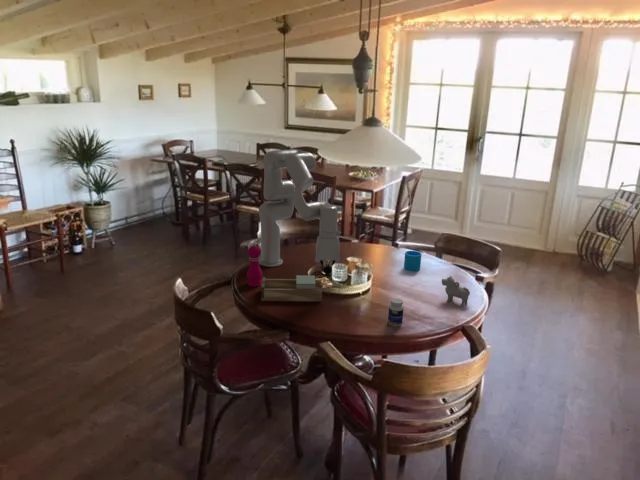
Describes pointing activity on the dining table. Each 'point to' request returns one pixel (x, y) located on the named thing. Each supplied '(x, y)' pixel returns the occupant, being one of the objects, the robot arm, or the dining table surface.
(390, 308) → the pill bottle
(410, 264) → the mug
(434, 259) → the dining table surface
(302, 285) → the grey-green block
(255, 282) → the pepper mill
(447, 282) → the dog figurine
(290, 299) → the bay
